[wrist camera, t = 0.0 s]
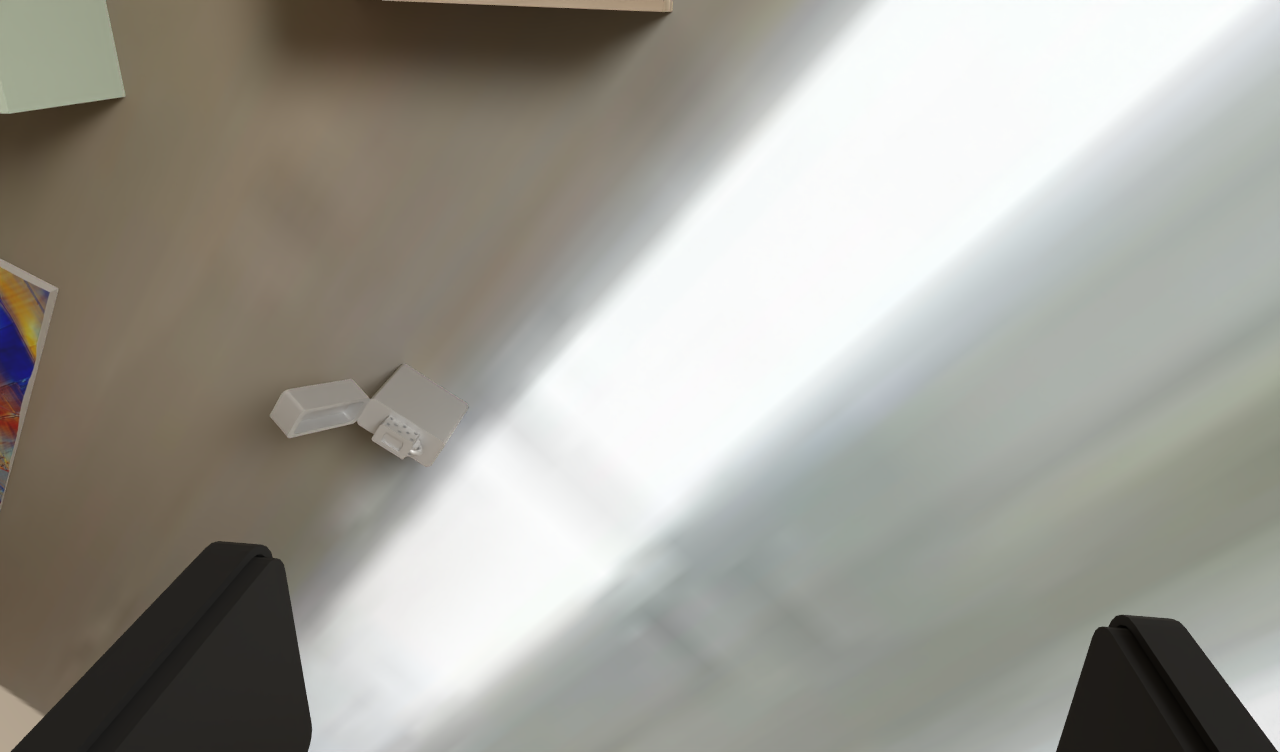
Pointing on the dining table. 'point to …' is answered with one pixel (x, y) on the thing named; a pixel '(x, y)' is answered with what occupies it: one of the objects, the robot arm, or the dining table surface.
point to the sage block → (56, 54)
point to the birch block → (572, 4)
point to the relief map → (19, 353)
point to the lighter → (377, 412)
